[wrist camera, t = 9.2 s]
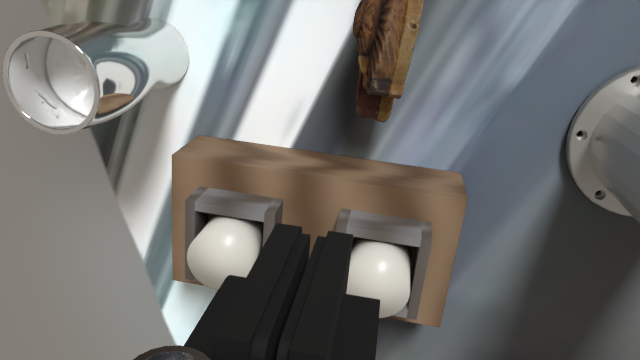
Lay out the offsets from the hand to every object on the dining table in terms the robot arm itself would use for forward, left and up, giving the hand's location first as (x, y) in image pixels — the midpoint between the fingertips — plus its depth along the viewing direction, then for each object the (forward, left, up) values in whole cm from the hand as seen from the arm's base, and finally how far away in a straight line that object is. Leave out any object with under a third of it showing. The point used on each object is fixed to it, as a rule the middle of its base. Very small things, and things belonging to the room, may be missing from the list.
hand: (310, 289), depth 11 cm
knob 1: (+10, +15, -29) cm, 34 cm away
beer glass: (+20, +2, -35) cm, 41 cm away
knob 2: (-2, +15, -29) cm, 32 cm away
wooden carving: (0, -4, -35) cm, 36 cm away
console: (+4, +15, -35) cm, 38 cm away
